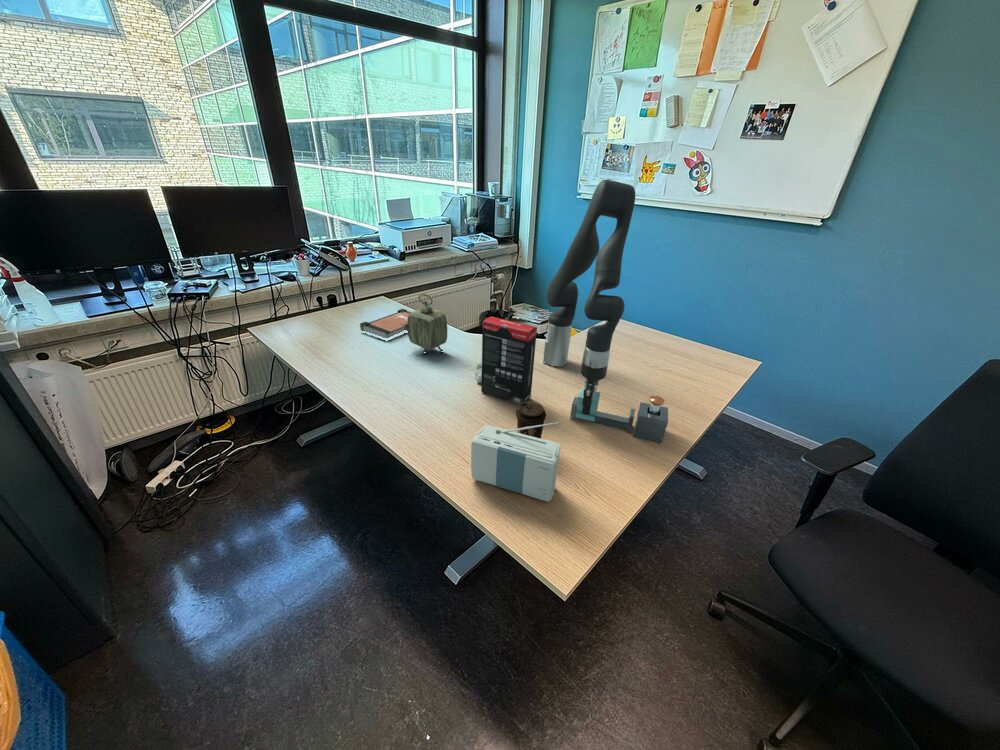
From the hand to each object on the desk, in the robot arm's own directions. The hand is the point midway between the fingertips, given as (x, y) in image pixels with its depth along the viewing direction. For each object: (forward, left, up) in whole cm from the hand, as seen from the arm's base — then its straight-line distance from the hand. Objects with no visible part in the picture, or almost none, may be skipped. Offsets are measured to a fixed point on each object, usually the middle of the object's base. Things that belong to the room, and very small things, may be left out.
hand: (587, 408), depth 125 cm
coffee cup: (-13, -20, -4) cm, 24 cm away
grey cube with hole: (+19, 0, -4) cm, 20 cm away
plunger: (+19, 0, +2) cm, 19 cm away
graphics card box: (-28, +3, -4) cm, 29 cm away
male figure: (-41, +19, -5) cm, 46 cm away
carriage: (0, 0, -2) cm, 2 cm away
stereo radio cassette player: (-12, -36, -4) cm, 38 cm away
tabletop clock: (-70, +23, -4) cm, 74 cm away
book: (-97, +39, -5) cm, 105 cm away
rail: (+5, 0, -4) cm, 6 cm away
